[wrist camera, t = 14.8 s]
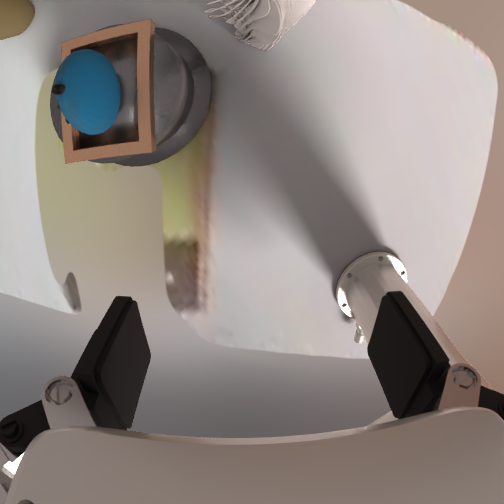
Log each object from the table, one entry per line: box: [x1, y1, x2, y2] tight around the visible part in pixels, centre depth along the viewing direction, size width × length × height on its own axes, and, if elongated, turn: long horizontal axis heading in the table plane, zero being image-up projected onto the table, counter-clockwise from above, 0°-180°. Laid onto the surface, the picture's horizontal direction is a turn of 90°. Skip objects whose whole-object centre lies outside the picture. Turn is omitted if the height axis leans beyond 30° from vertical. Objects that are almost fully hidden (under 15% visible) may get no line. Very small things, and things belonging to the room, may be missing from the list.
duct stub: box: [50, 19, 212, 166], centre depth 28 cm, size 19×19×12 cm
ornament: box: [52, 49, 121, 135], centre depth 19 cm, size 8×5×10 cm, turn 8°
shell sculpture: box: [204, 0, 316, 51], centre depth 22 cm, size 8×8×18 cm
